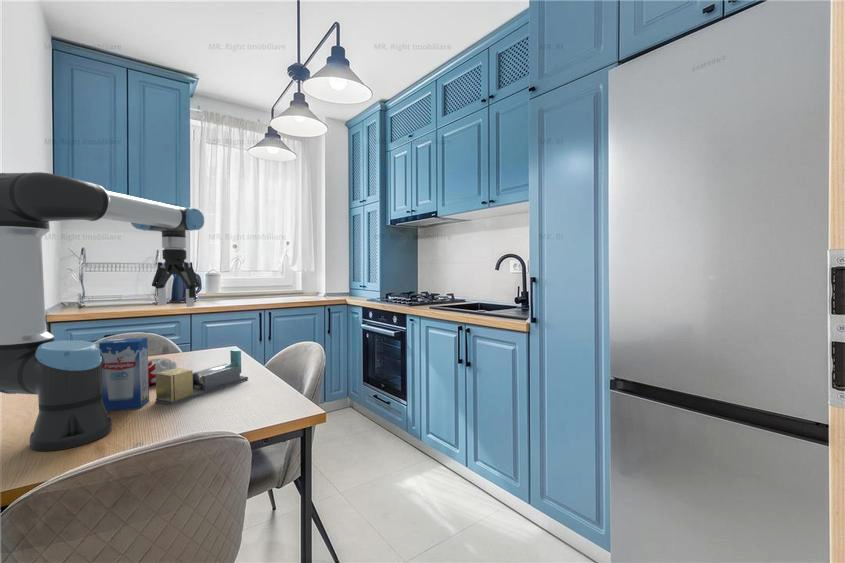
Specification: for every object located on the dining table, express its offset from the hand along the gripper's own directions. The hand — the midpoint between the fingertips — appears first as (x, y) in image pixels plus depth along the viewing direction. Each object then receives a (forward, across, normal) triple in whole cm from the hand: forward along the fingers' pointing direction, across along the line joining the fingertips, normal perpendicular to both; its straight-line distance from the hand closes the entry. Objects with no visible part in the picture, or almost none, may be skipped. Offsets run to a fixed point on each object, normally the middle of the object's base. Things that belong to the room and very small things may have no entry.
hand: (176, 306), depth 146 cm
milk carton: (+27, -11, +28) cm, 40 cm away
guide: (+26, -21, +10) cm, 35 cm away
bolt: (+25, -22, +3) cm, 33 cm away
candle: (+27, +3, +9) cm, 29 cm away
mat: (+27, -22, +7) cm, 35 cm away
